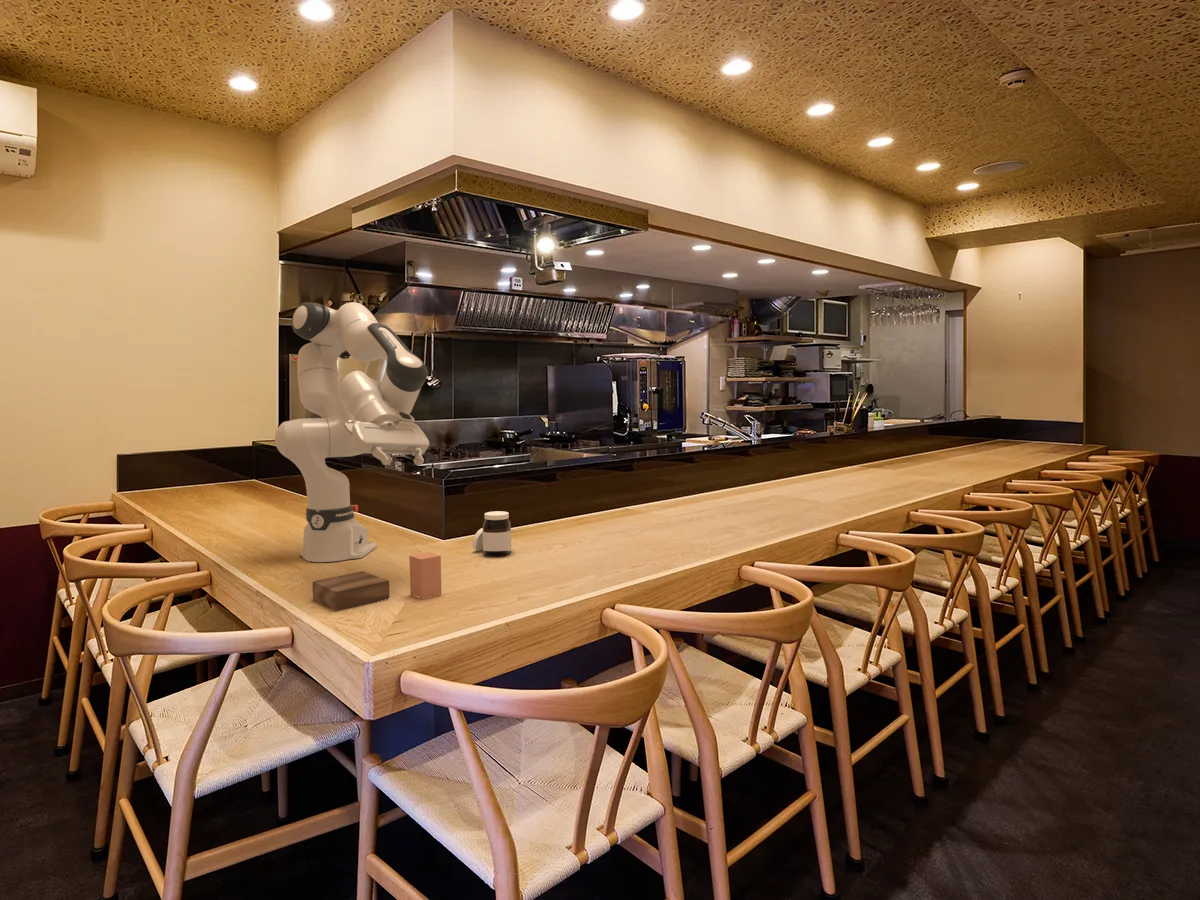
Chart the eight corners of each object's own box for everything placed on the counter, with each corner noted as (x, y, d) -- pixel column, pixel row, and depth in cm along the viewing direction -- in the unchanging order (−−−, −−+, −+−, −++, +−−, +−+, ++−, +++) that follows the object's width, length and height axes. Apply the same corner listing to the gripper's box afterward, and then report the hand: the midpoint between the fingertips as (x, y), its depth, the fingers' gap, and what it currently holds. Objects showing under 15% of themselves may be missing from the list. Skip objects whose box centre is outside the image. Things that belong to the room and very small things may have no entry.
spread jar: (508, 557, 192) (507, 516, 191) (467, 557, 192) (466, 516, 191) (514, 548, 204) (513, 509, 203) (476, 548, 204) (475, 509, 203)
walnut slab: (313, 601, 154) (312, 581, 153) (364, 590, 162) (363, 571, 162) (337, 612, 145) (336, 591, 145) (389, 600, 154) (388, 580, 154)
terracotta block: (410, 594, 157) (409, 555, 156) (429, 590, 160) (428, 552, 160) (421, 599, 153) (420, 559, 153) (441, 594, 157) (440, 555, 156)
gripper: (347, 410, 158) (373, 452, 153) (417, 416, 175) (443, 454, 169) (335, 430, 161) (361, 472, 155) (405, 434, 178) (431, 472, 172)
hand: (404, 463), depth 162 cm, fingers open, 8 cm apart
